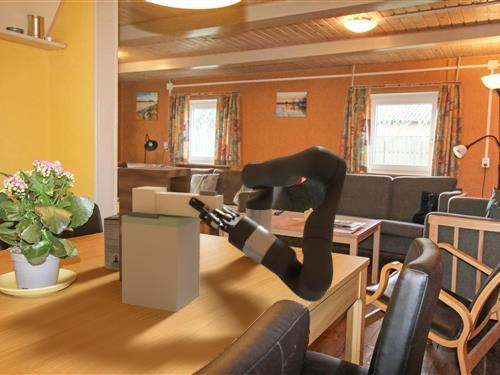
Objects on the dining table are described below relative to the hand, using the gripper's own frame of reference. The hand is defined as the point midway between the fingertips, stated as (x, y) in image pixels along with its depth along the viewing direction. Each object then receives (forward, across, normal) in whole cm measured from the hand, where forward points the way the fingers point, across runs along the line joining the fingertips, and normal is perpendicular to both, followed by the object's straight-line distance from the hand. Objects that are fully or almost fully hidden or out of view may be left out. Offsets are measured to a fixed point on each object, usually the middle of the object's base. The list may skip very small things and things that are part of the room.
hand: (195, 199), depth 104 cm
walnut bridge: (+5, -15, +32) cm, 36 cm away
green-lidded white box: (-5, 0, +27) cm, 28 cm away
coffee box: (+19, -21, +41) cm, 50 cm away
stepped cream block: (+2, 0, +6) cm, 6 cm away
